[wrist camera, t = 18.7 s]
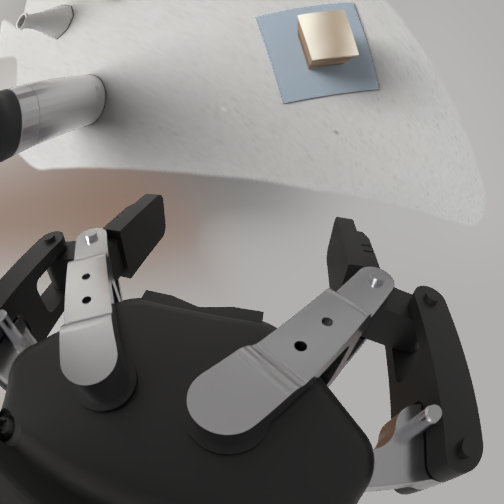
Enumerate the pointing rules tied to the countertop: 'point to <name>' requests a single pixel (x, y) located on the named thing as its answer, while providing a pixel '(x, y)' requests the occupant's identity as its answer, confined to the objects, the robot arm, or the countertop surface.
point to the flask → (47, 21)
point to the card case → (326, 38)
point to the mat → (294, 64)
